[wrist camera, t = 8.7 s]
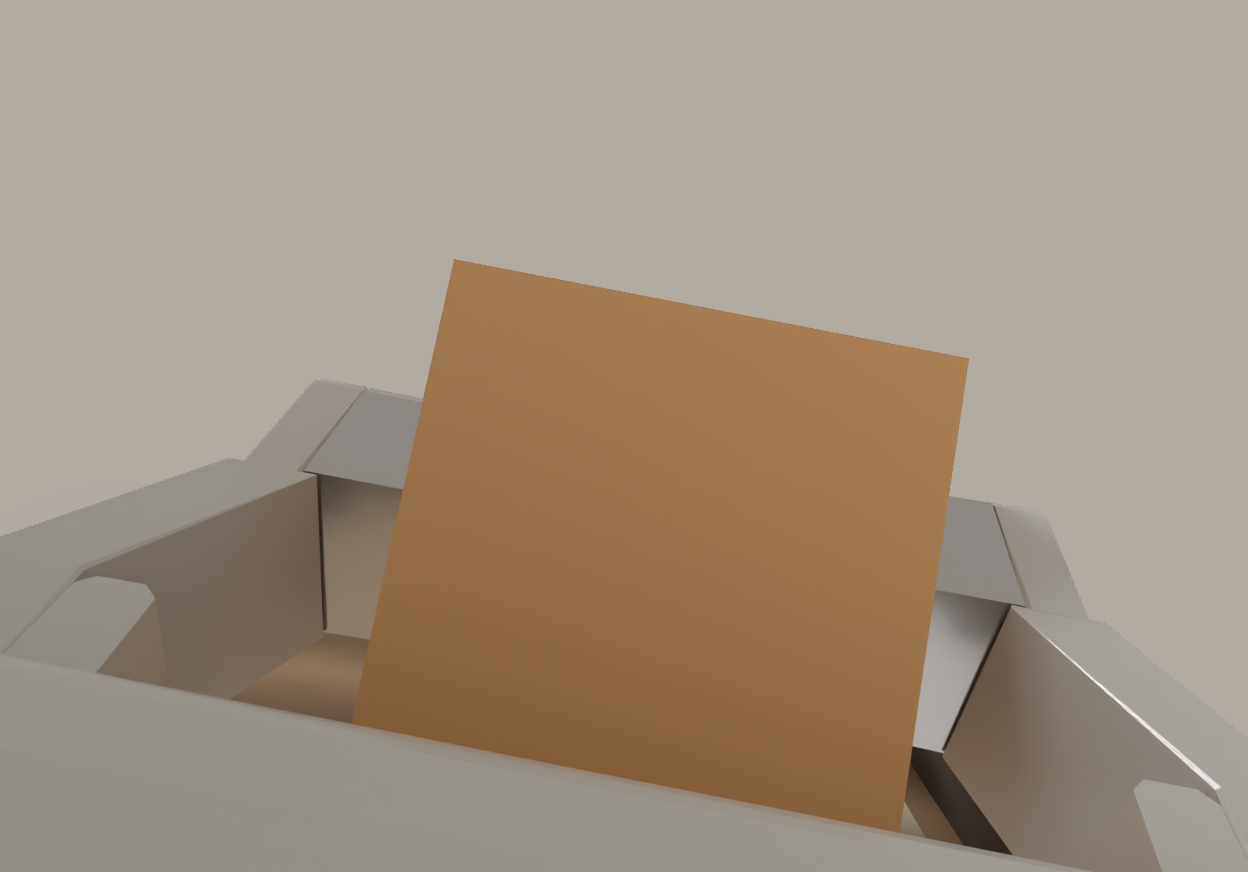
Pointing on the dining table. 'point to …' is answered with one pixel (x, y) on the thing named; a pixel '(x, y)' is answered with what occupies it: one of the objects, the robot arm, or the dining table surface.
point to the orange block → (668, 546)
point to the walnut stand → (332, 681)
